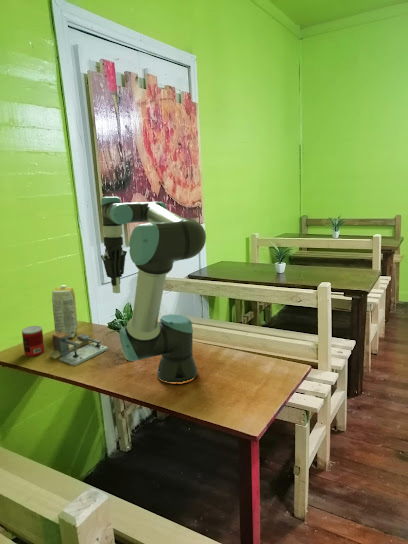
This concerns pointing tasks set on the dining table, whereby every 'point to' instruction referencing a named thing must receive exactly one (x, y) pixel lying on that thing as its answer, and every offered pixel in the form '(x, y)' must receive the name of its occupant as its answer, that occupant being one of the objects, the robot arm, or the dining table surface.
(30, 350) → the canned food
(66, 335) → the slide leg
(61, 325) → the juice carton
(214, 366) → the dining table surface
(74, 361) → the bolt plate
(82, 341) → the rail
